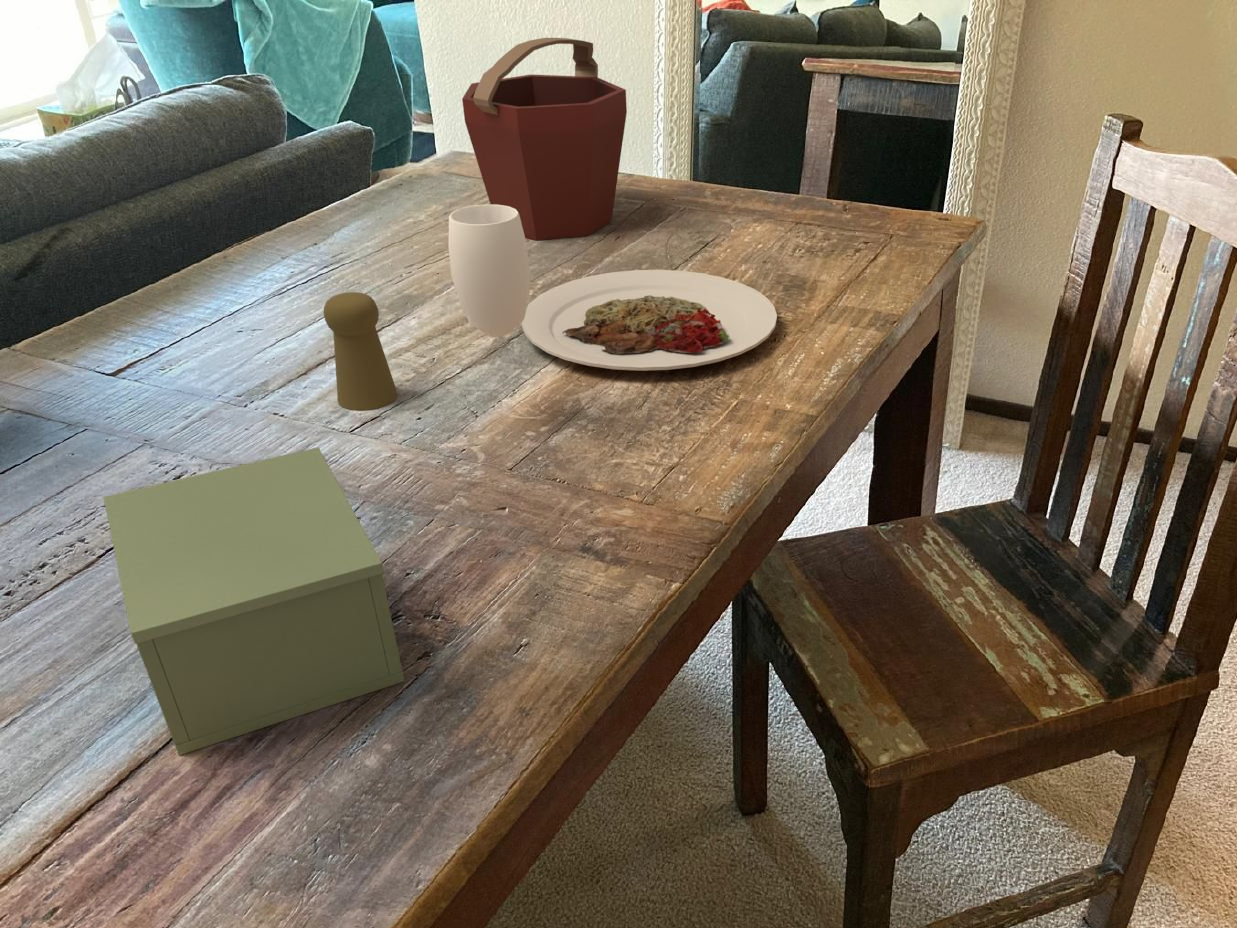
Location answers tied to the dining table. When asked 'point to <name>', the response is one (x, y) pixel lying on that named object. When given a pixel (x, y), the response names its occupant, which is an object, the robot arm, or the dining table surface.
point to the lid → (234, 542)
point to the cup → (490, 266)
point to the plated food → (649, 320)
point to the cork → (358, 353)
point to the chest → (273, 663)
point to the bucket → (548, 142)
